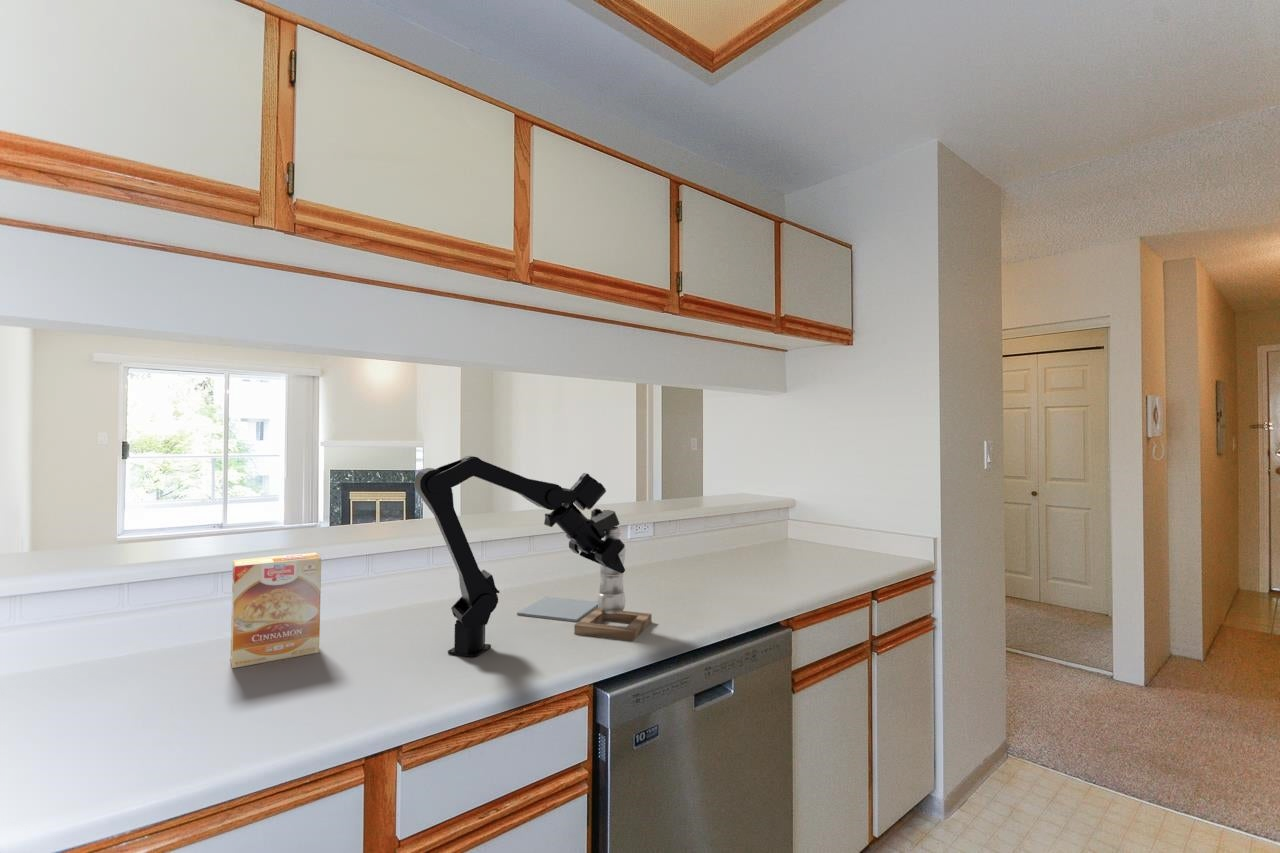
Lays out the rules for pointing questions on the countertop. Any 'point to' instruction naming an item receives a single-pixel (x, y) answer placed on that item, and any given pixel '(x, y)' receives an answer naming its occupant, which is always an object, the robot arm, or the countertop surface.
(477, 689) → the countertop surface
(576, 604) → the mat
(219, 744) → the countertop surface
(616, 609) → the plastic bottle
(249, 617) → the coffeecake box
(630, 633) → the pocket frame
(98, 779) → the countertop surface
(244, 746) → the countertop surface
